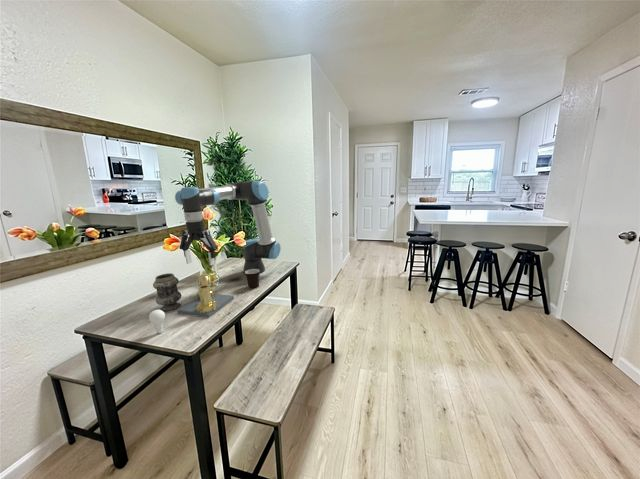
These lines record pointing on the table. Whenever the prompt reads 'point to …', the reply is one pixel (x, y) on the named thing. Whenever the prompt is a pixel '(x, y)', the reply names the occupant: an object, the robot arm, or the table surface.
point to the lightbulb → (157, 320)
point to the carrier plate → (192, 306)
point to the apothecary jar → (167, 292)
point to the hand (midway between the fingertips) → (200, 263)
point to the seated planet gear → (205, 281)
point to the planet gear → (205, 300)
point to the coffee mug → (252, 278)
